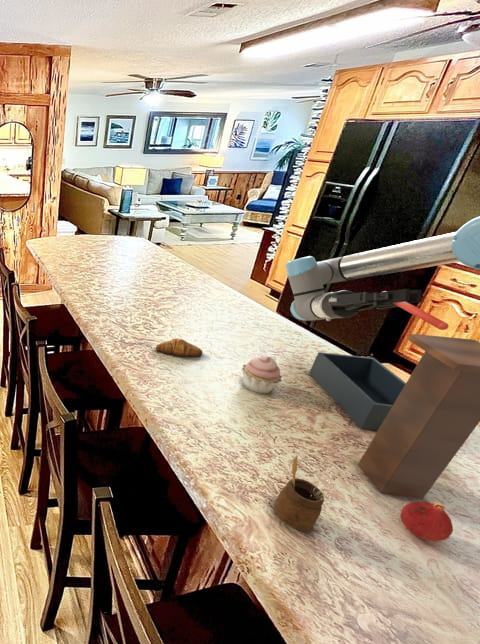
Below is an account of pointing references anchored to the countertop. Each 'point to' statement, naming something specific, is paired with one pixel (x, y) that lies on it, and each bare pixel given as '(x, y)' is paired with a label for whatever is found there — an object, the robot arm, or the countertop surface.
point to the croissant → (179, 348)
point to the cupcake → (261, 374)
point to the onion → (427, 520)
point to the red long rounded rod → (422, 315)
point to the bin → (358, 386)
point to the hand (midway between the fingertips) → (413, 295)
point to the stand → (427, 418)
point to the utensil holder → (299, 502)
